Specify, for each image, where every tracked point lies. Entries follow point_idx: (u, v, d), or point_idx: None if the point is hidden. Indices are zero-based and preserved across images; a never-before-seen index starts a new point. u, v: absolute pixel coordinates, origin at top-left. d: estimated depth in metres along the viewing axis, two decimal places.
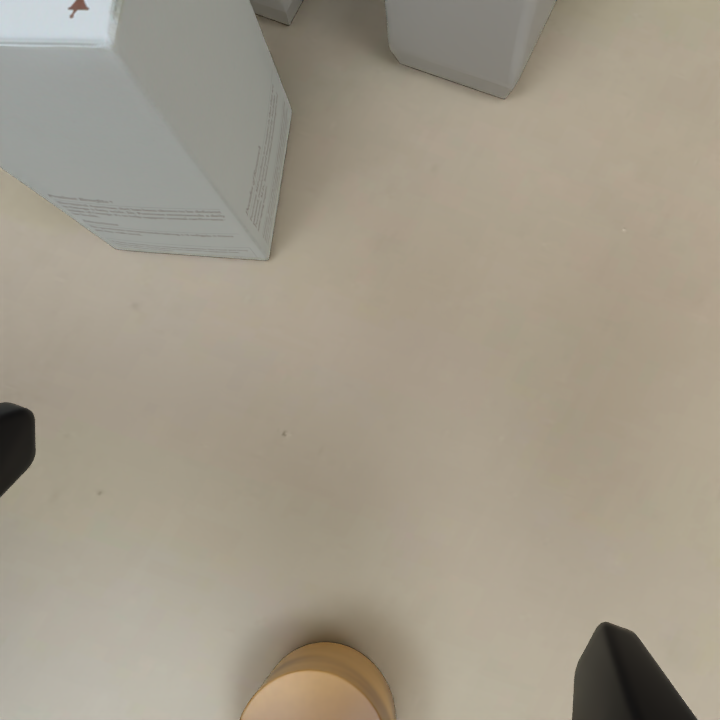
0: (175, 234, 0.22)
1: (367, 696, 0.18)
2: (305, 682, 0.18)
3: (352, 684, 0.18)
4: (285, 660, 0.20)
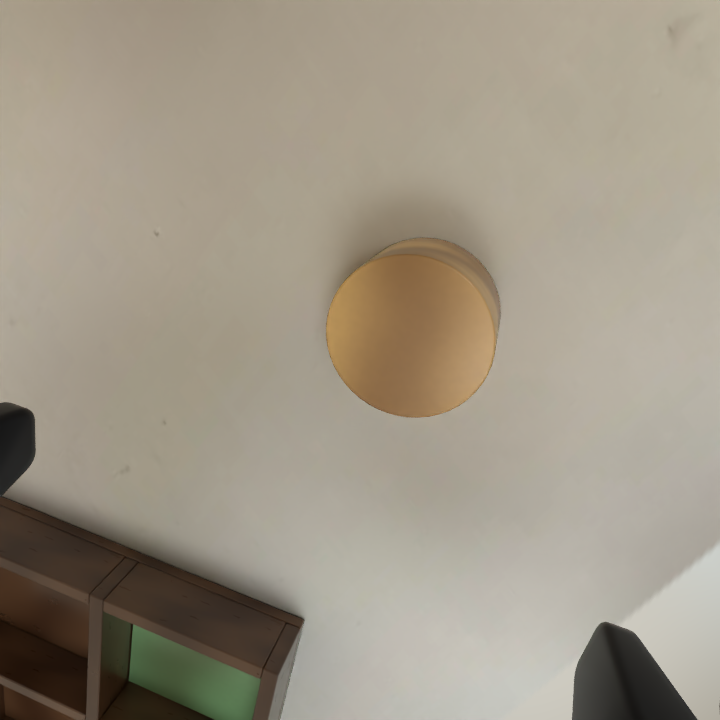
0: None
1: (376, 258, 0.16)
2: (340, 313, 0.17)
3: (360, 268, 0.16)
4: None
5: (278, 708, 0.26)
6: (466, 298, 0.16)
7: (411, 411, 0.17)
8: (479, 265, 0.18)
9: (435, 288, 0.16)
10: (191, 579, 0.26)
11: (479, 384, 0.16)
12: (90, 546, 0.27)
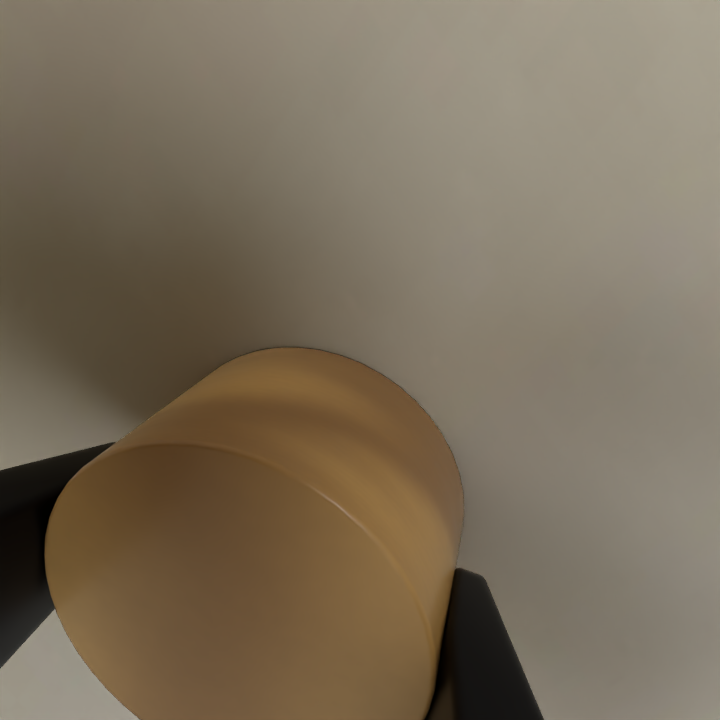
0: None
1: (127, 445, 0.06)
2: (68, 556, 0.07)
3: (90, 463, 0.06)
4: None
5: None
6: (356, 564, 0.06)
7: None
8: (412, 419, 0.08)
9: (276, 531, 0.06)
10: None
11: None
12: None
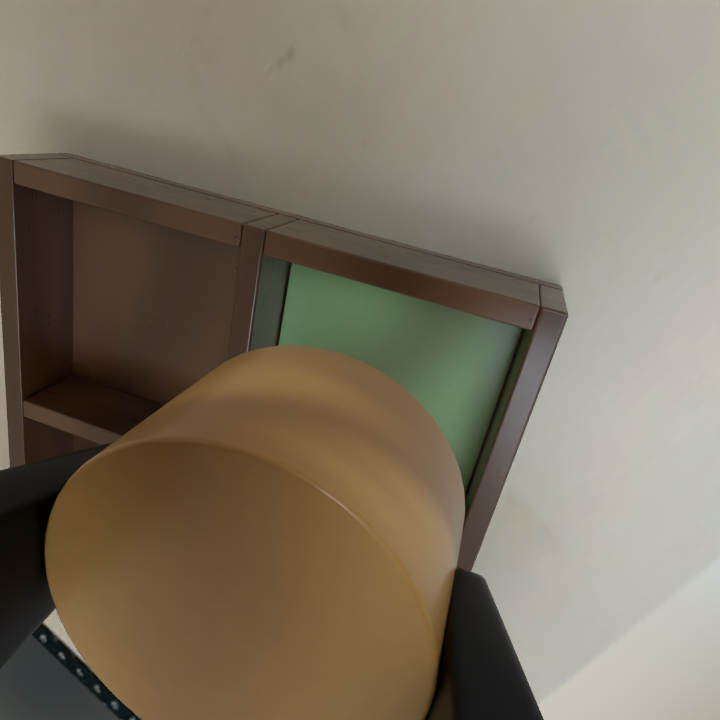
0: None
1: (127, 443, 0.06)
2: (68, 554, 0.07)
3: (91, 461, 0.06)
4: None
5: None
6: (357, 561, 0.06)
7: None
8: (413, 417, 0.08)
9: (276, 528, 0.06)
10: (381, 239, 0.17)
11: None
12: (224, 200, 0.18)
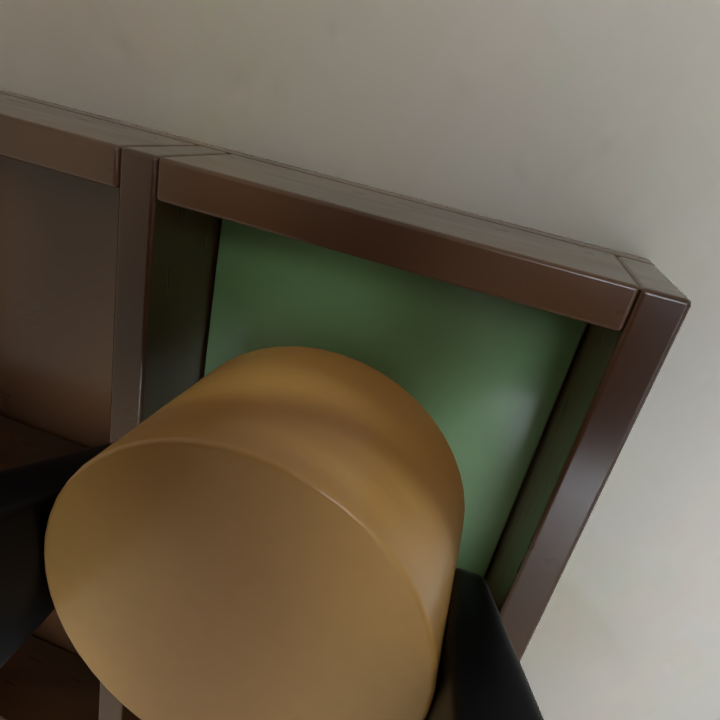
0: None
1: (126, 444, 0.06)
2: (68, 555, 0.07)
3: (90, 461, 0.06)
4: None
5: None
6: (357, 562, 0.06)
7: None
8: (413, 418, 0.08)
9: (275, 529, 0.06)
10: (359, 185, 0.11)
11: None
12: (115, 124, 0.11)
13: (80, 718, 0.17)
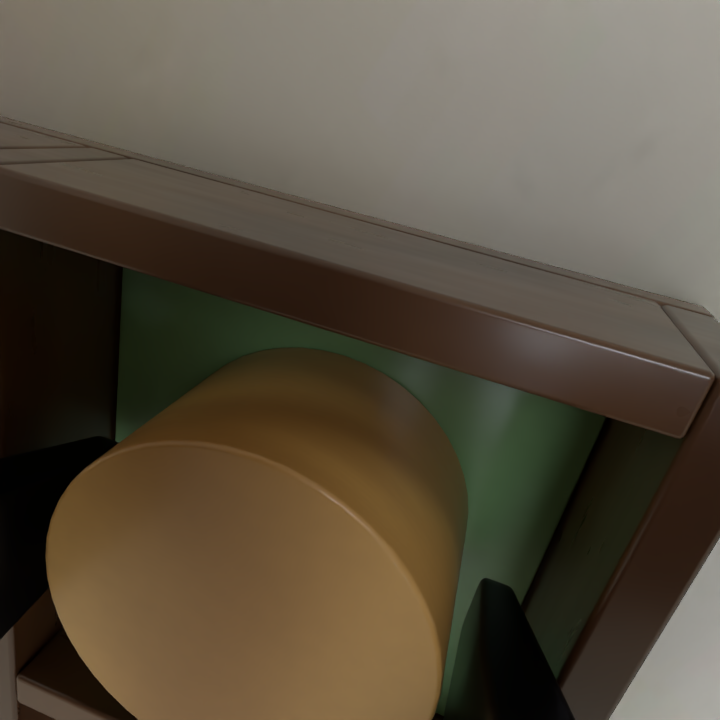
0: None
1: (129, 446, 0.06)
2: (69, 558, 0.07)
3: (92, 463, 0.06)
4: None
5: None
6: (361, 565, 0.06)
7: None
8: (416, 420, 0.08)
9: (280, 533, 0.06)
10: (304, 202, 0.08)
11: None
12: None
13: None
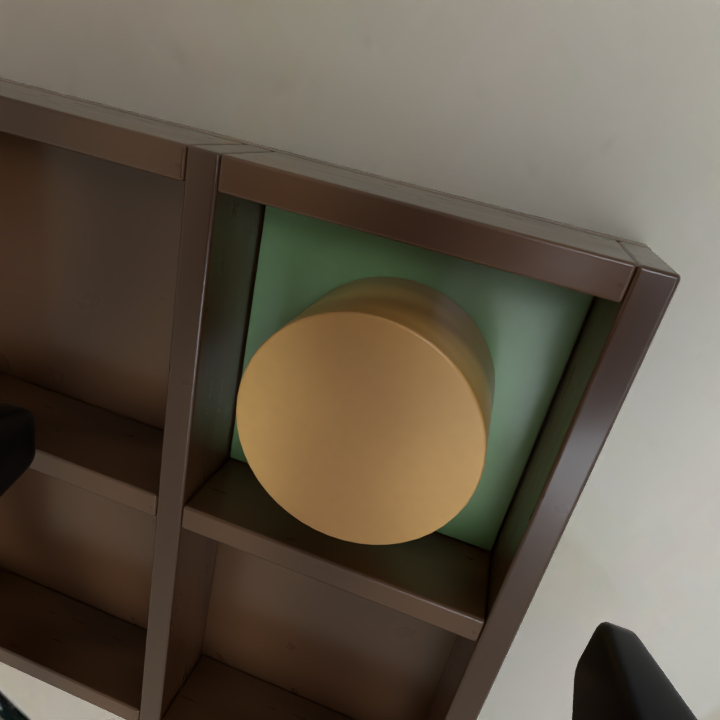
0: None
1: (303, 317, 0.10)
2: (254, 395, 0.11)
3: (279, 330, 0.11)
4: None
5: None
6: (441, 381, 0.10)
7: (364, 535, 0.12)
8: (464, 318, 0.12)
9: (393, 365, 0.10)
10: (389, 179, 0.12)
11: (462, 505, 0.11)
12: (172, 125, 0.13)
13: (123, 671, 0.18)
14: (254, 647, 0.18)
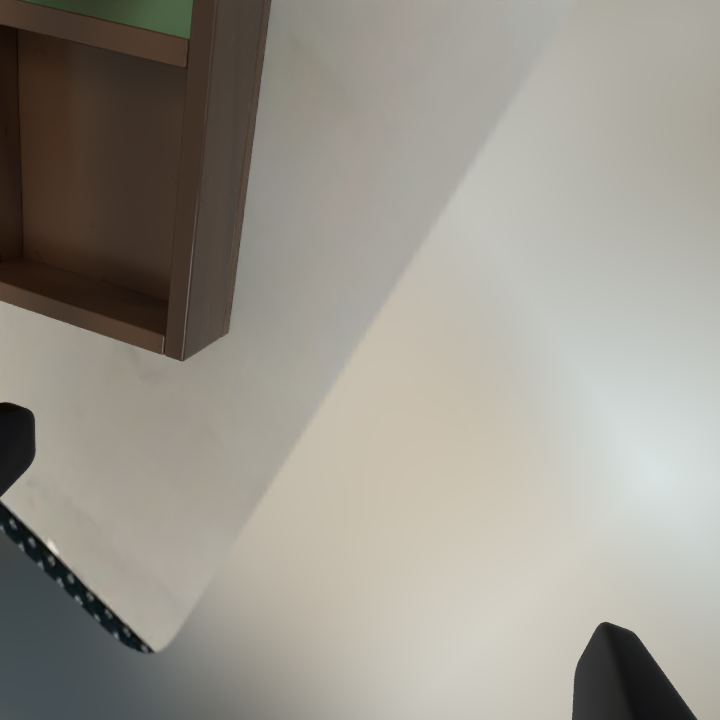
0: None
1: None
2: None
3: None
4: None
5: None
6: None
7: None
8: None
9: None
10: None
11: None
12: None
13: None
14: (64, 234, 0.20)
